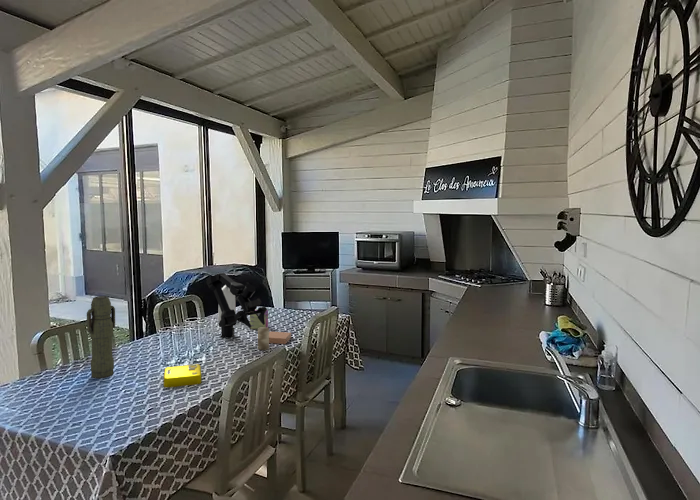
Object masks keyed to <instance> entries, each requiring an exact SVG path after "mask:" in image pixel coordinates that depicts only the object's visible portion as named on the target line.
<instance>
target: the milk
mask: <svg viewBox="0 0 700 500" xmlns="http://www.w3.org/2000/svg"><path fill="white" fill-rule="evenodd" d="M222 291H223V293H224V296H225V298H226V301H227V303H228V305H229V308H230V309H231V310H234V311H235V313H237V312H236V310H237V309H236V295H233V294H232V293H231V292H230V289H229V288H228V287H227V286H226V285H225V284H224V285H223V286H222ZM217 311H218V313H217V319H218V320H217V321H218V322H220V320H221V314H222V311H221V309H220V306H219V305H218V310H217Z"/></svg>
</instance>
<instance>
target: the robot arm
mask: <svg viewBox="0 0 700 500" xmlns="http://www.w3.org/2000/svg"><path fill="white" fill-rule="evenodd" d="M206 285H207V286H208V289H210V290H211V291H212V292H213V293H214V296H215V299H216V301H217V303H218V307H219V306H220V309H221V311H222V314H221V320H220V321H218V328H219V327H220V328H221V330H220V331H221V333H220V335H221V336H219V337H220V338H226V339H227V338H230V339H231V338H232V337H234V336H235V328H234V326H236V325H237V322H240V323H242V324H243V325H245V326H246V327H248V328H249V329H250V328H251V324H250V320H249V319H248V316H250V315H254V314H256V315H257V316H258V317H257V318H258V319H259V320H260V321H261V323H262V324H263V325H264V324H265V320H264V314H265V312H266V311H267V310H268V309H267V307H266V306H260V305H262V300H261V299H260V298H257V299H254V300H250V299H251V298H252V296H253V295H254V294H255V292H256V291H257V289H256V287H255V285H252V284H251V283H250V282H246V283H245V285H244V284H243V283H240V282H236V281H235V280H233V279H232V278H231V277H229V276H228V275H227V273H225V272H218V273H216V274H215V275H212V276H210V277H209V276H208V277H207V279H206ZM223 285H224V286H225V285H226V286H227V287H228V288H229V289H230V292H231V293H232V294H233V295H235V303H236V302H238V303H239V305H240V310H238V311H237V312H236V313H235V311H234V310H231V309H230V308H229V305H228V303H227V301H226V298H225V296H224V293H223V291H222V288H223ZM259 306H260V307H259ZM257 308H258V310H256V311H255V309H257Z"/></svg>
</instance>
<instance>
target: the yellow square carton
mask: <svg viewBox="0 0 700 500" xmlns="http://www.w3.org/2000/svg"><path fill="white" fill-rule="evenodd" d="M201 383H202V366H201V365H200V364H197V363H196V364H188V365H187V364H185V365H178V366H177V365H176V366H167V367H165V368H164V373H163V387H164V388H167V389H168V388H177V387H184V386H185V387H187V386H195V385H200V384H201Z"/></svg>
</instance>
